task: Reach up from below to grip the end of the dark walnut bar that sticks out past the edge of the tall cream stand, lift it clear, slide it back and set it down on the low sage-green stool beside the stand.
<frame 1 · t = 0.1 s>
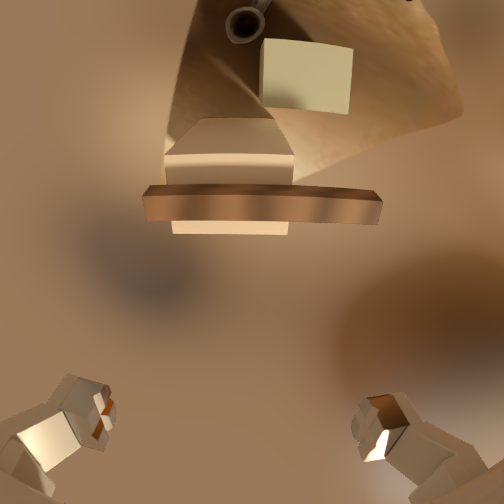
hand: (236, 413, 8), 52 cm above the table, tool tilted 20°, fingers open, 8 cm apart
walnut bar: (264, 196, 32), point 26 cm above the table, touching tall stand
pipe: (251, 20, 38), on the table
tall stand: (237, 142, 53), on the table
low stool: (291, 75, 45), on the table
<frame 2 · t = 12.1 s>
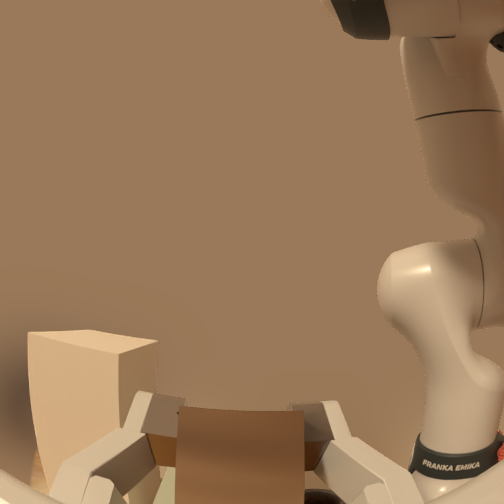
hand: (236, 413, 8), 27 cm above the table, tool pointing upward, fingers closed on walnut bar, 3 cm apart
walnut bar: (224, 467, 14), point 20 cm above the table, tilted 25°, touching gripper
when the fingers open (20 cm above the table, at t = 13.9 s): walnut bar stays where it is, resting on low stool.
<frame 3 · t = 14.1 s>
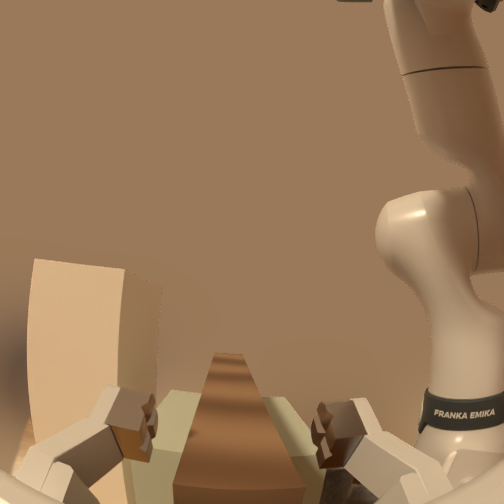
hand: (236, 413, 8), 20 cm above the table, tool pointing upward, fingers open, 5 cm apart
walnut bar: (227, 419, 17), point 16 cm above the table, touching low stool
tall stand: (108, 483, 22), on the table
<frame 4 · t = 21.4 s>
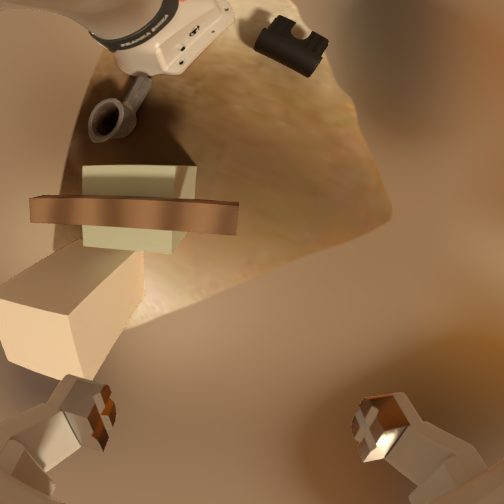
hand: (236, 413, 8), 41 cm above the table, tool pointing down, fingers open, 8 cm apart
walnut bar: (125, 208, 30), point 16 cm above the table, touching low stool
pipe: (131, 112, 41), on the table
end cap: (287, 55, 40), on the table
tall stand: (110, 267, 49), on the table
low stool: (159, 194, 46), on the table
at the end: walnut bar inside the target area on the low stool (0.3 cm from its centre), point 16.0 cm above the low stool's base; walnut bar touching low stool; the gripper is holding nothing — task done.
